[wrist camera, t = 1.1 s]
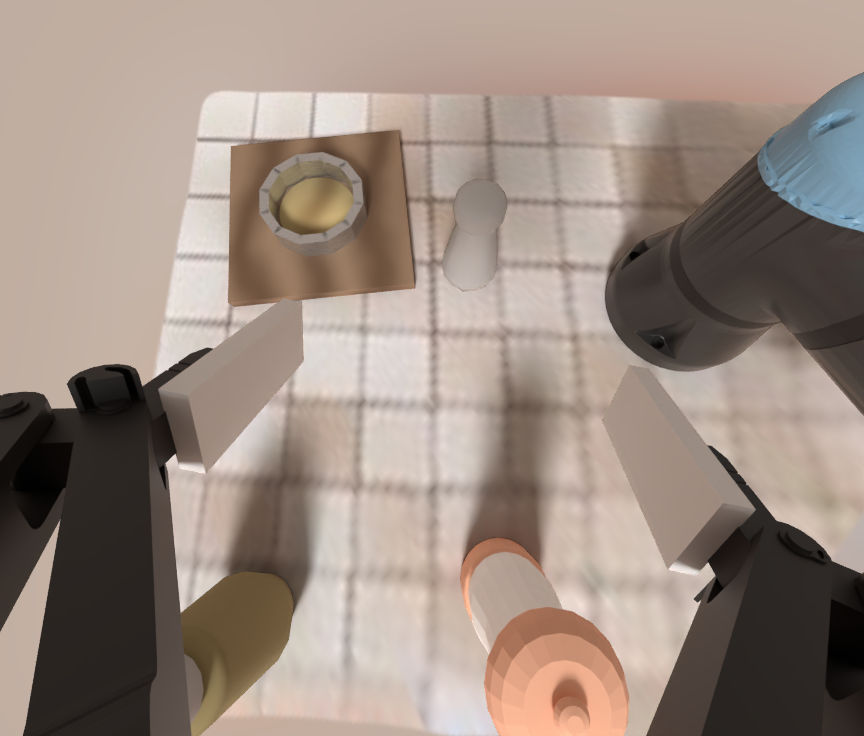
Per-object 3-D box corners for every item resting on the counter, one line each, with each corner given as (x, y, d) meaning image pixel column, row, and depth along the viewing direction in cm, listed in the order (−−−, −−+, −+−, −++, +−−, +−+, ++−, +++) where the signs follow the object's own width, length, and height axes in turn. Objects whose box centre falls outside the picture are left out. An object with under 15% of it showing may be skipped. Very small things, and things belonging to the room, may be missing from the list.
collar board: (399, 138, 46) (396, 111, 42) (415, 288, 41) (413, 272, 38) (236, 154, 45) (219, 128, 42) (234, 306, 41) (214, 292, 37)
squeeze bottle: (239, 547, 35) (47, 640, 18) (319, 574, 35) (201, 696, 17) (204, 640, 34) (-46, 844, 16) (287, 669, 33) (122, 913, 16)
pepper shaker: (537, 538, 35) (651, 632, 17) (540, 624, 34) (670, 835, 15) (460, 536, 36) (489, 627, 17) (460, 622, 34) (491, 828, 15)
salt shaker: (431, 268, 42) (429, 187, 29) (472, 242, 43) (488, 152, 30) (462, 308, 41) (474, 242, 28) (503, 280, 41) (533, 204, 29)
